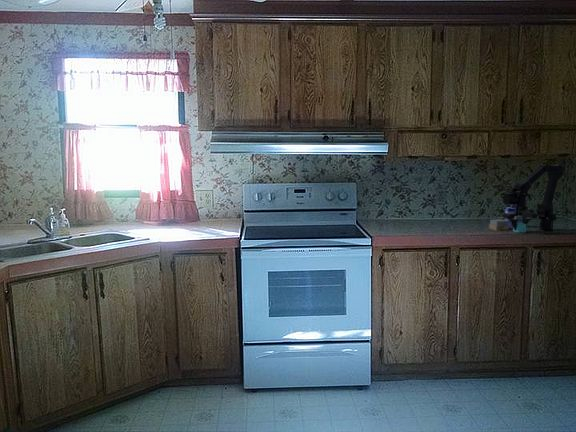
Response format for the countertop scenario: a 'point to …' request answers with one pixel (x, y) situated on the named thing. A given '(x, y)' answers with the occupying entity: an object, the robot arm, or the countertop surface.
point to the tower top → (498, 222)
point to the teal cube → (520, 227)
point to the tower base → (498, 227)
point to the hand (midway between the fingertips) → (519, 230)
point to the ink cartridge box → (512, 210)
